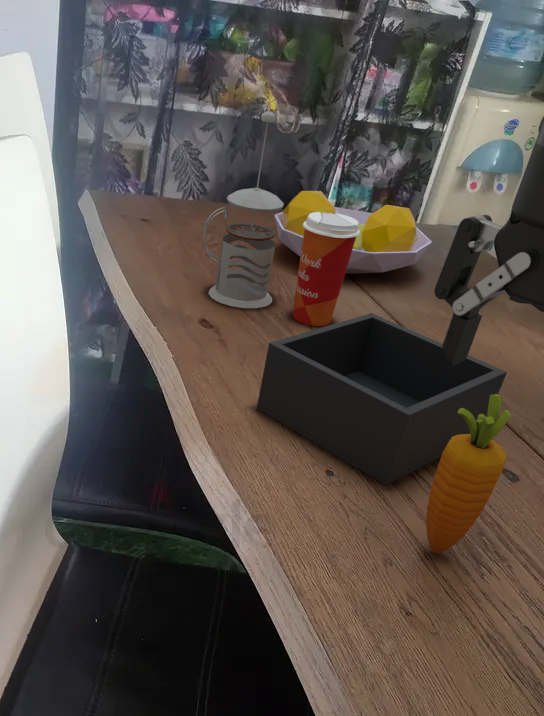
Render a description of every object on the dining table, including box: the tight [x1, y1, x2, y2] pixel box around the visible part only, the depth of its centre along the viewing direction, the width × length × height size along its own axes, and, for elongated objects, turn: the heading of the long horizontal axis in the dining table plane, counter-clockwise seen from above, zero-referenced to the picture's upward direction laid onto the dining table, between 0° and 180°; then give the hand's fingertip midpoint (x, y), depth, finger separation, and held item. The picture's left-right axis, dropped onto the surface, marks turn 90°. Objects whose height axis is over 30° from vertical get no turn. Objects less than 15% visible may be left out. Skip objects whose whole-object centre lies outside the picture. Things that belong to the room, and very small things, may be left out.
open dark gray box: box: [256, 312, 508, 486], centre depth 81 cm, size 18×18×8 cm
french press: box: [202, 110, 284, 309], centre depth 104 cm, size 10×12×25 cm
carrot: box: [425, 393, 512, 555], centre depth 60 cm, size 5×5×15 cm
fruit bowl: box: [274, 190, 433, 275], centre depth 126 cm, size 28×27×11 cm
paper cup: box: [292, 212, 360, 327], centre depth 103 cm, size 8×8×14 cm
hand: (503, 383), depth 55 cm, fingers open, 8 cm apart
